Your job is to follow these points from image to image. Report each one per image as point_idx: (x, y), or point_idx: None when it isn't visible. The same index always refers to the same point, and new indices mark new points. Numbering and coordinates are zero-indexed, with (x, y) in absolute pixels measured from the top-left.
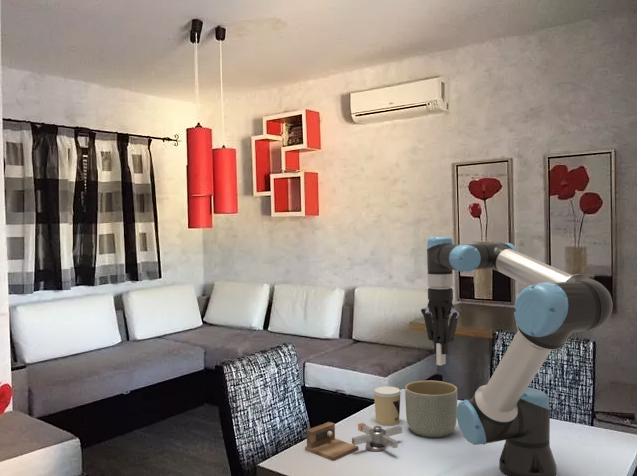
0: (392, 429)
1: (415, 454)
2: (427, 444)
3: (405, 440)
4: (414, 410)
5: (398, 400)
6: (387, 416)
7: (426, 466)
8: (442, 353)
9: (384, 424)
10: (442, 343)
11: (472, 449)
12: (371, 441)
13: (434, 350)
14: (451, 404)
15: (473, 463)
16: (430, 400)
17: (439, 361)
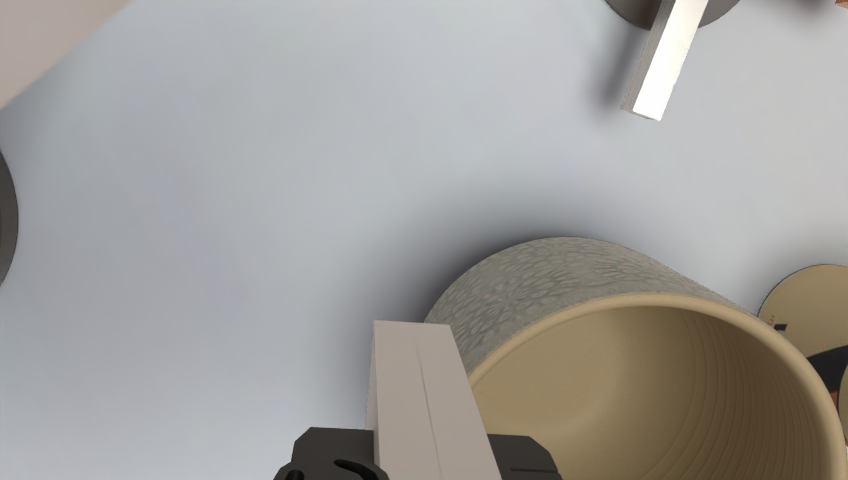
0: (665, 34)
1: (465, 30)
2: (481, 202)
3: (613, 176)
4: (633, 260)
5: (838, 396)
6: (829, 290)
7: None
8: (357, 435)
9: (817, 271)
10: (280, 471)
11: (244, 292)
12: None
13: (550, 459)
14: None
15: (142, 119)
16: (526, 307)
17: (397, 341)
